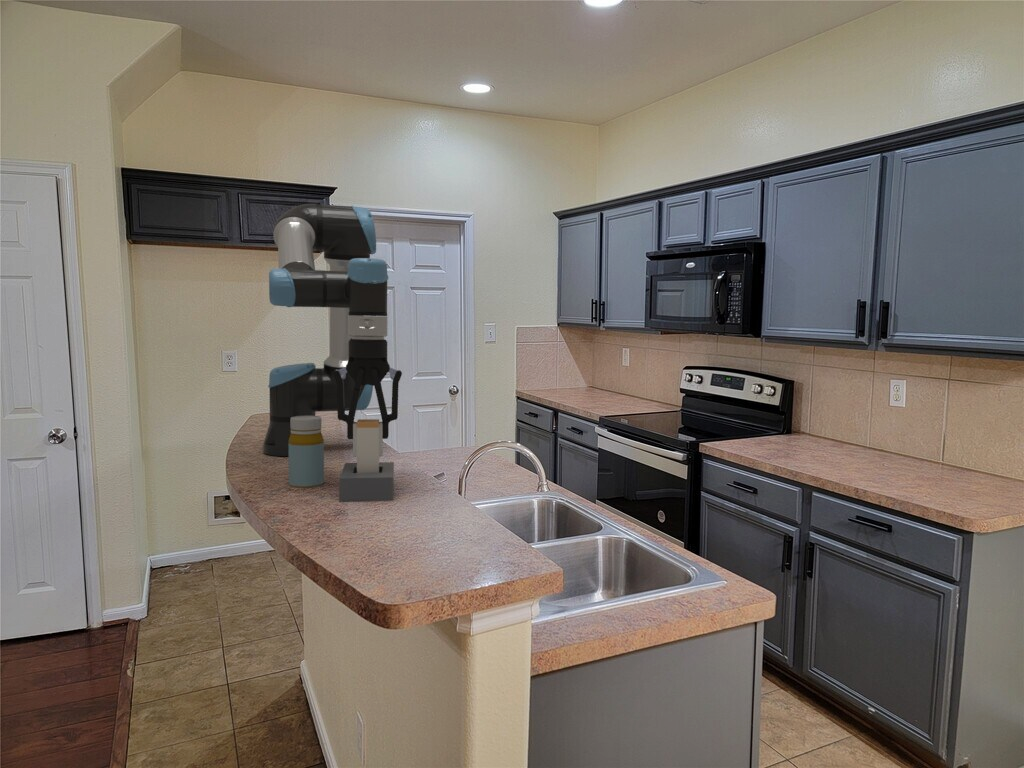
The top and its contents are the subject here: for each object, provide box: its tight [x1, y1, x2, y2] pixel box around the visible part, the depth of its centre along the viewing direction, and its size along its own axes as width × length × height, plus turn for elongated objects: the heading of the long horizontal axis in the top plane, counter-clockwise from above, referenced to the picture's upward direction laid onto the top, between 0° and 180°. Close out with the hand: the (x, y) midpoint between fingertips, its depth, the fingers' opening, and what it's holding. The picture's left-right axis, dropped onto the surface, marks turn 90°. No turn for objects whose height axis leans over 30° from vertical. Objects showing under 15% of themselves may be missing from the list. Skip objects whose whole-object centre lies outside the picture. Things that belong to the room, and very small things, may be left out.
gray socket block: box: [338, 461, 395, 503], centre depth 135 cm, size 14×10×6 cm
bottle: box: [288, 415, 325, 489], centre depth 140 cm, size 7×7×15 cm
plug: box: [356, 418, 380, 473], centre depth 135 cm, size 4×4×13 cm
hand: (368, 454), depth 135 cm, fingers closed on plug, 4 cm apart
